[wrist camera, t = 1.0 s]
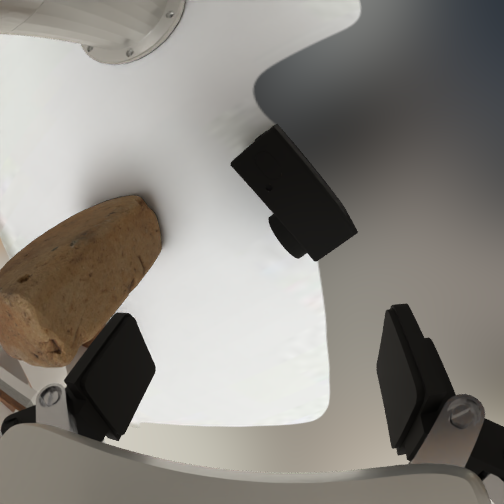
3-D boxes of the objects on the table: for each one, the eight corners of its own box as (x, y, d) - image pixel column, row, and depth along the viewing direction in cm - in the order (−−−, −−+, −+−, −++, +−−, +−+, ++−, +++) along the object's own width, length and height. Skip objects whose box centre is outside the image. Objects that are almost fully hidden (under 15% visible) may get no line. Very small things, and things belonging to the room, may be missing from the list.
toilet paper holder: (113, 351, 43) (17, 529, 11) (63, 329, 42) (-40, 479, 11) (107, 298, 37) (-31, 508, 6) (52, 276, 37) (-89, 440, 6)
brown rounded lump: (157, 188, 30) (19, 292, 12) (172, 252, 33) (75, 389, 15) (82, 202, 31) (-44, 287, 13) (98, 257, 34) (-3, 361, 17)
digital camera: (233, 159, 28) (216, 173, 21) (276, 122, 25) (272, 125, 19) (301, 237, 30) (303, 271, 24) (343, 206, 28) (358, 233, 22)
